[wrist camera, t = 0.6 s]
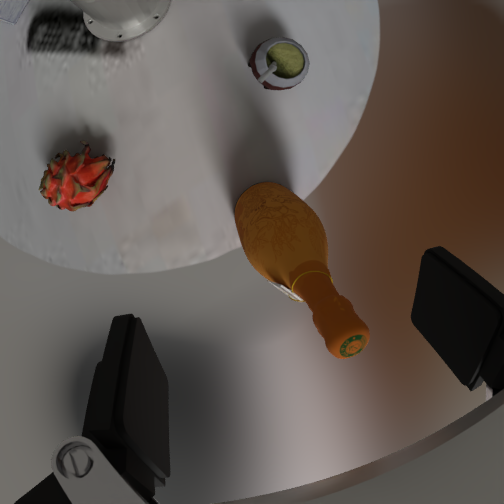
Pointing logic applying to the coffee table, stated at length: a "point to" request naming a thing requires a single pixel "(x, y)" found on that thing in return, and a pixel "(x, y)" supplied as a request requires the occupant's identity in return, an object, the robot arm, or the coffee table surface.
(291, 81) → the mate gourd
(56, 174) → the dragon fruit
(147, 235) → the coffee table surface
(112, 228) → the coffee table surface
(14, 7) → the medicine box
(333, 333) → the wine bottle
